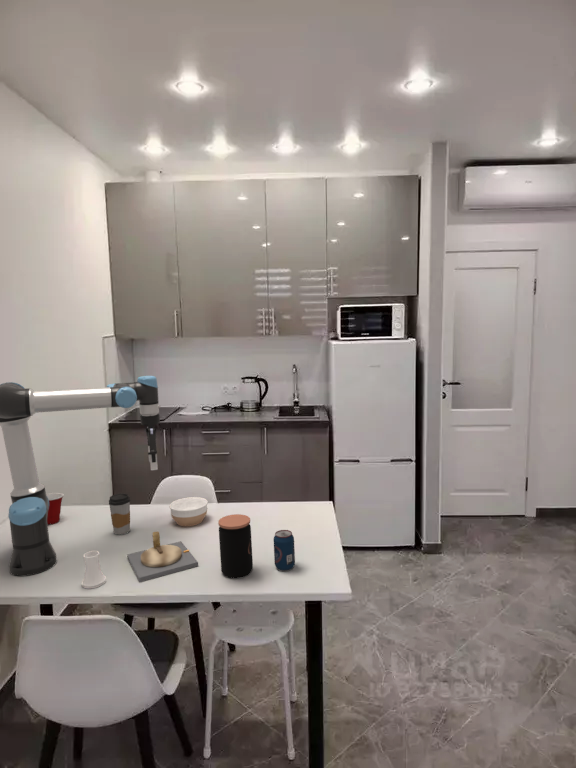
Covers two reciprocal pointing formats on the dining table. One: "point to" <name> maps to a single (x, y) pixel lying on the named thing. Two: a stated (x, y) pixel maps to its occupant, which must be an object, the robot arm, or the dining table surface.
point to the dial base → (154, 572)
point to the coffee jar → (235, 546)
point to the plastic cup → (54, 507)
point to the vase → (92, 571)
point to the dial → (160, 553)
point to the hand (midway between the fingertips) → (153, 465)
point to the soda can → (284, 550)
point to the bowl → (189, 510)
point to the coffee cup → (120, 513)
